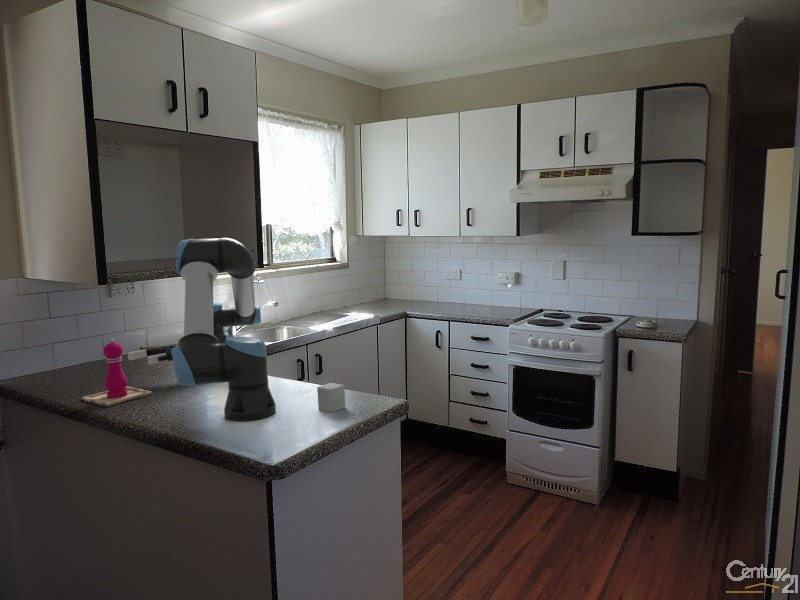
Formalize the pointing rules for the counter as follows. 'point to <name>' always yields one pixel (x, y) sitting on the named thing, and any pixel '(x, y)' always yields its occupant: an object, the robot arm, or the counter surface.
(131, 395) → the oak tray
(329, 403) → the product box
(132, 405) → the counter surface
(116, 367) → the pepper mill
